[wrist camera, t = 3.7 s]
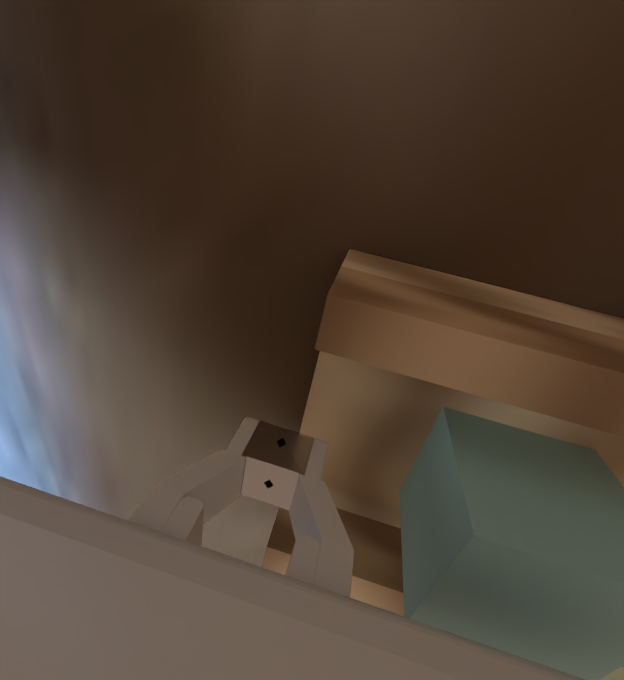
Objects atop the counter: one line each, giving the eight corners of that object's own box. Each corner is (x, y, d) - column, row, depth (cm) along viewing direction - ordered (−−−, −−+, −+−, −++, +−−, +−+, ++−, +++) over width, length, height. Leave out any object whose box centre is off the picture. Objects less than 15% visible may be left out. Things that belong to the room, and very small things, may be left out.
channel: (292, 469, 18) (261, 566, 13) (349, 248, 12) (327, 293, 7) (662, 585, 16) (765, 740, 12) (937, 398, 10) (1347, 567, 6)
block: (399, 490, 13) (404, 624, 9) (443, 406, 11) (474, 535, 7) (524, 529, 13) (584, 687, 9) (595, 450, 11) (717, 612, 7)
